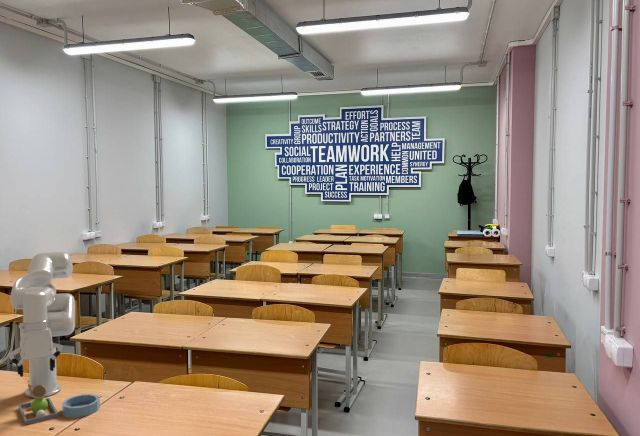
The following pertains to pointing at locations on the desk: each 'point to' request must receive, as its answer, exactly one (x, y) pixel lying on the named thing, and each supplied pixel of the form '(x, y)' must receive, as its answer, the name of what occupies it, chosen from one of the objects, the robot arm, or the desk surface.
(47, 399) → the tray
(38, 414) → the pebble
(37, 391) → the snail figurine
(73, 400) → the bowl
